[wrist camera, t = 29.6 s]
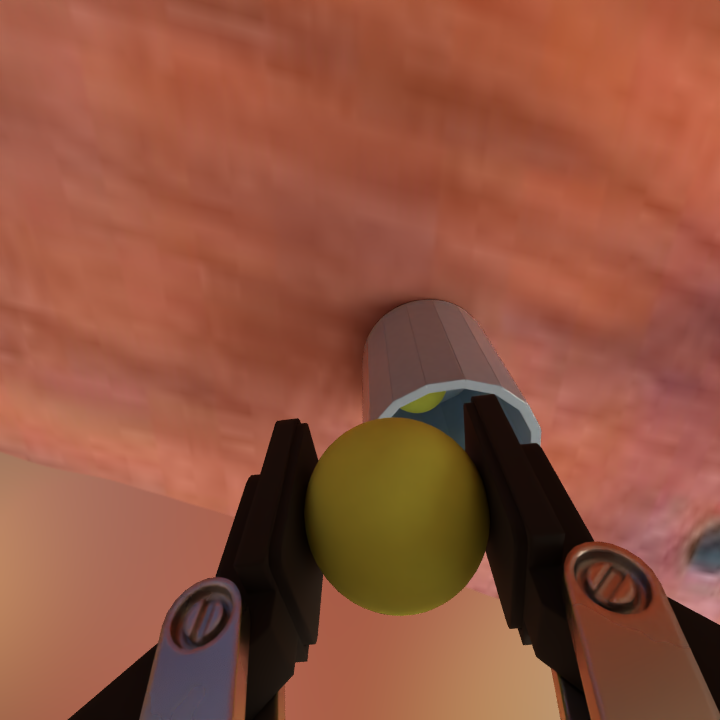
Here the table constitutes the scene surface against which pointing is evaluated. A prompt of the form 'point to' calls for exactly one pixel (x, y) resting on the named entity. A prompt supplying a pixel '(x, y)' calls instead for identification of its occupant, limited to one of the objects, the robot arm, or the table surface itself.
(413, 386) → the tumbler
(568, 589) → the robot arm
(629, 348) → the table surface
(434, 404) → the plum
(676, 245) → the table surface
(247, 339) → the table surface
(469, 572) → the plum
